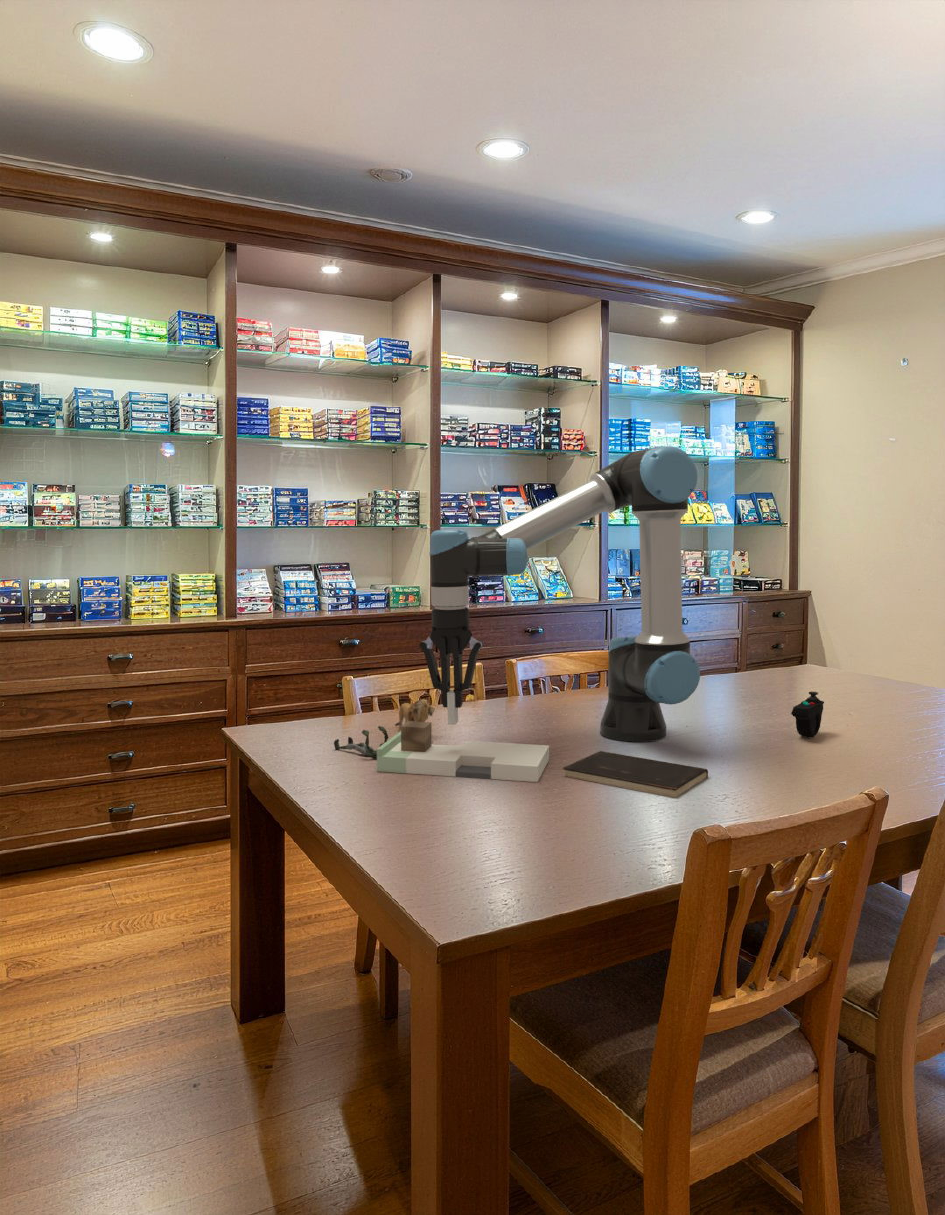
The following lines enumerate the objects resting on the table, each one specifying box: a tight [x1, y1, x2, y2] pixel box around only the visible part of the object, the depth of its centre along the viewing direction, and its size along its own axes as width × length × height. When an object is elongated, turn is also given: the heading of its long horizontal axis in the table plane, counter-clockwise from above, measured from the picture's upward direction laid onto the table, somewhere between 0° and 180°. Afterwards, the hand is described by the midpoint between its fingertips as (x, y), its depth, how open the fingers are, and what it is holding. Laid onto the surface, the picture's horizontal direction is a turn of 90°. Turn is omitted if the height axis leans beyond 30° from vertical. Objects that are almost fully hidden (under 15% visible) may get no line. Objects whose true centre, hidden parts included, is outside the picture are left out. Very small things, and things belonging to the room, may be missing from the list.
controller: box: [790, 691, 825, 739], centre depth 196 cm, size 4×12×10 cm, turn 141°
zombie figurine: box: [333, 725, 390, 759], centre depth 182 cm, size 5×7×15 cm
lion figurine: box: [394, 698, 436, 733], centre depth 200 cm, size 15×5×9 cm, turn 36°
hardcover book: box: [562, 750, 709, 798], centre depth 165 cm, size 16×23×2 cm
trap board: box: [376, 731, 550, 783], centre depth 173 cm, size 32×16×4 cm, turn 77°
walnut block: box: [401, 721, 433, 752], centre depth 175 cm, size 5×5×5 cm
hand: (453, 723), depth 173 cm, fingers closed
